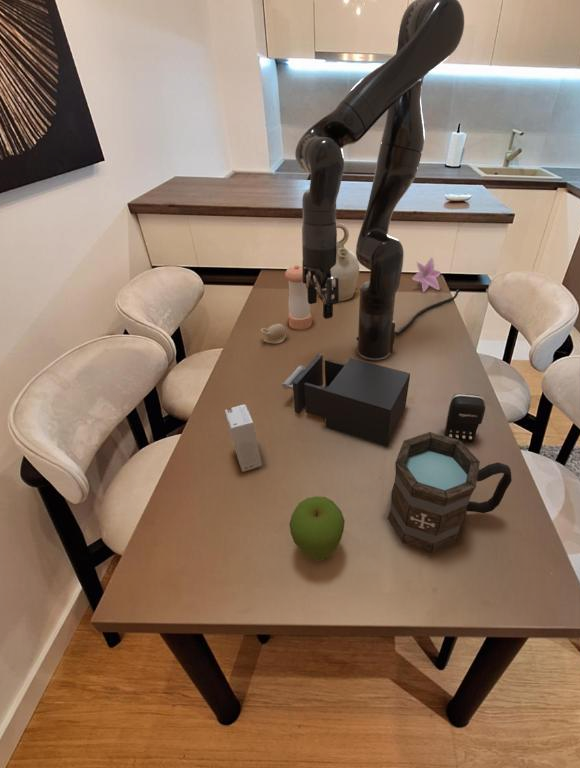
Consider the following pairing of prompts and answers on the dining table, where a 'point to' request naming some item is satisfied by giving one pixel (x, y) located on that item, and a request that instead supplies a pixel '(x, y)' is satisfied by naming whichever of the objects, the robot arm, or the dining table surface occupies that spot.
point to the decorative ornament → (274, 334)
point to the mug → (438, 490)
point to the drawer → (312, 385)
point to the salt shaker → (298, 299)
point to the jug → (345, 268)
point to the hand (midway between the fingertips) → (319, 310)
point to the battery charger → (464, 417)
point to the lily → (427, 275)
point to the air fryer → (366, 401)
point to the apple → (317, 527)
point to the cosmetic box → (243, 437)
